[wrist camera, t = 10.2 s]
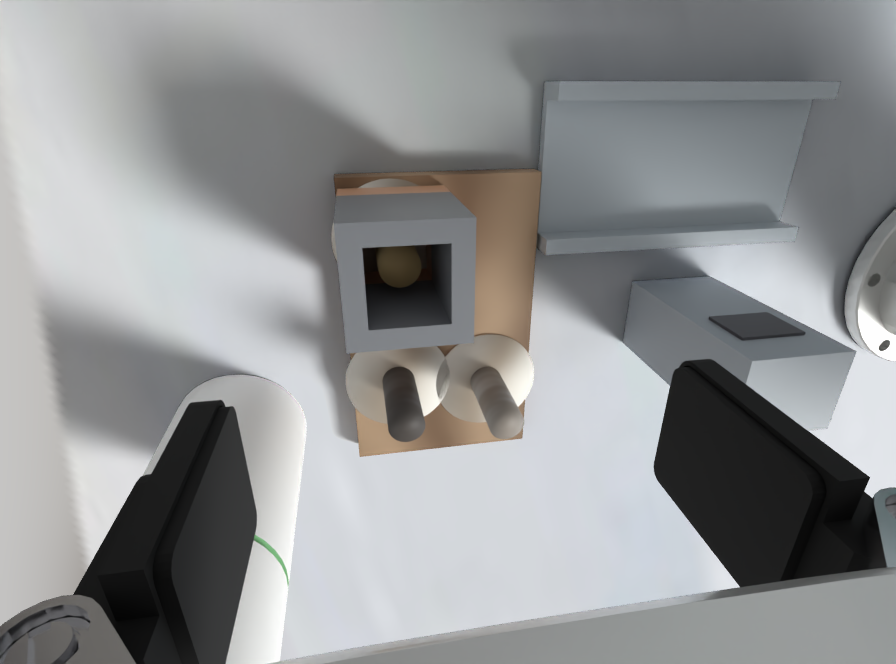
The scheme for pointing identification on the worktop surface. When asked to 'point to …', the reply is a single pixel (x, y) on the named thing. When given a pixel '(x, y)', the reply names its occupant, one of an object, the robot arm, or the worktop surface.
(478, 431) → the pin board
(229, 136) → the worktop surface
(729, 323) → the gray rectangular block
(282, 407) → the cylindrical container
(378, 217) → the sleeve
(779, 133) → the chute
